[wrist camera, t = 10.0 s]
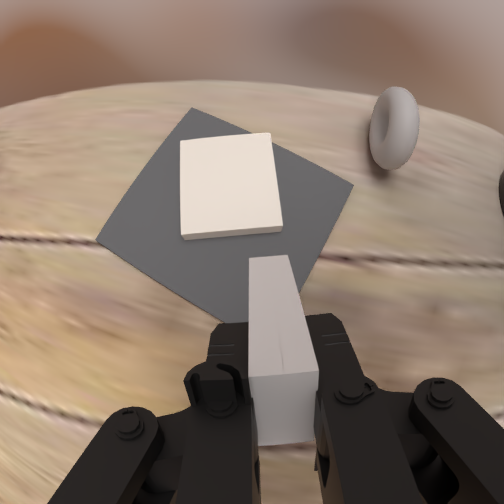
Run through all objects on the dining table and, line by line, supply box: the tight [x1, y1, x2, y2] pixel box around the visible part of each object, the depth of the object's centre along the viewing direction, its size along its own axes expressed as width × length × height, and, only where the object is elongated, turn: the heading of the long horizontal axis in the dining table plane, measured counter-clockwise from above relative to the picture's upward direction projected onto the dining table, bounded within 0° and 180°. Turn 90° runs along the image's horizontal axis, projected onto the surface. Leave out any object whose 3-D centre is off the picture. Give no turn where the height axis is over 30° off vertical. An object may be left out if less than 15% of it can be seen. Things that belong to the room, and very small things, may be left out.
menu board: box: [180, 133, 283, 240], centre depth 34 cm, size 2×10×11 cm
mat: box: [96, 108, 354, 323], centre depth 34 cm, size 22×20×1 cm
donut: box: [369, 87, 420, 170], centre depth 32 cm, size 10×4×10 cm, turn 173°
